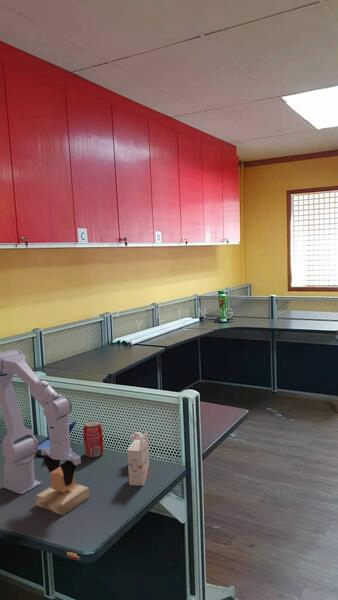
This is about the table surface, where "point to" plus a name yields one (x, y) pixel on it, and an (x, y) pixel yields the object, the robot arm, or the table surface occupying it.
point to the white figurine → (136, 436)
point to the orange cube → (59, 480)
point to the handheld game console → (47, 442)
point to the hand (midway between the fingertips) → (62, 482)
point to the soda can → (93, 438)
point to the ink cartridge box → (138, 461)
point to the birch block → (62, 498)
